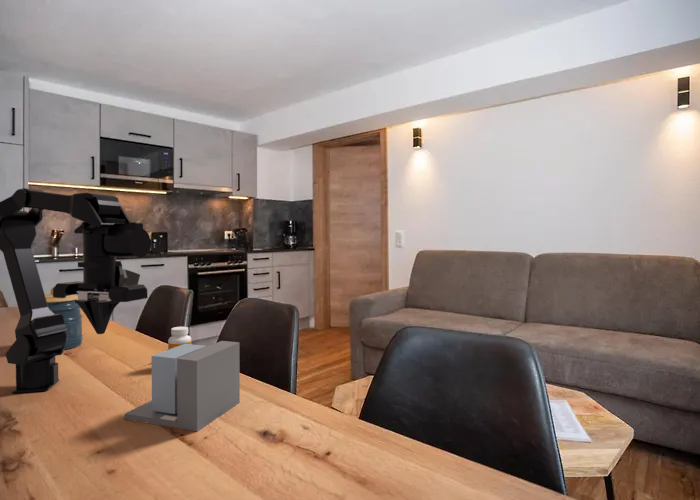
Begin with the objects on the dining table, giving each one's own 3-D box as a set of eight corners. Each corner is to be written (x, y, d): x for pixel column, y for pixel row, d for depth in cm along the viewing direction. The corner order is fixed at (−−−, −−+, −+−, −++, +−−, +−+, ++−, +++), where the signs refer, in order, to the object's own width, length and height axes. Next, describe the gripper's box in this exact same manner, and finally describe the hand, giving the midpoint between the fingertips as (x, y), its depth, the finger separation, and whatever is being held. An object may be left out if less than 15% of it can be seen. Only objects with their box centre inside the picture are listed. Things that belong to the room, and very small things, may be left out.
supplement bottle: (183, 370, 103) (183, 331, 103) (163, 369, 104) (163, 329, 104) (195, 364, 109) (195, 326, 108) (176, 362, 110) (176, 325, 109)
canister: (83, 348, 123) (82, 287, 122) (27, 355, 116) (26, 290, 115) (81, 339, 134) (81, 283, 133) (30, 344, 126) (29, 285, 126)
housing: (124, 419, 76) (123, 352, 76) (174, 393, 88) (174, 336, 88) (197, 431, 71) (196, 360, 71) (239, 402, 84) (239, 342, 83)
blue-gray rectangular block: (152, 410, 77) (151, 355, 76) (185, 393, 85) (185, 343, 85) (174, 414, 75) (174, 358, 75) (206, 396, 84) (206, 345, 83)
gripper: (166, 255, 90) (167, 328, 90) (98, 254, 95) (99, 322, 96) (124, 258, 79) (125, 341, 80) (50, 256, 85) (51, 333, 85)
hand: (100, 333), depth 86 cm, fingers closed
